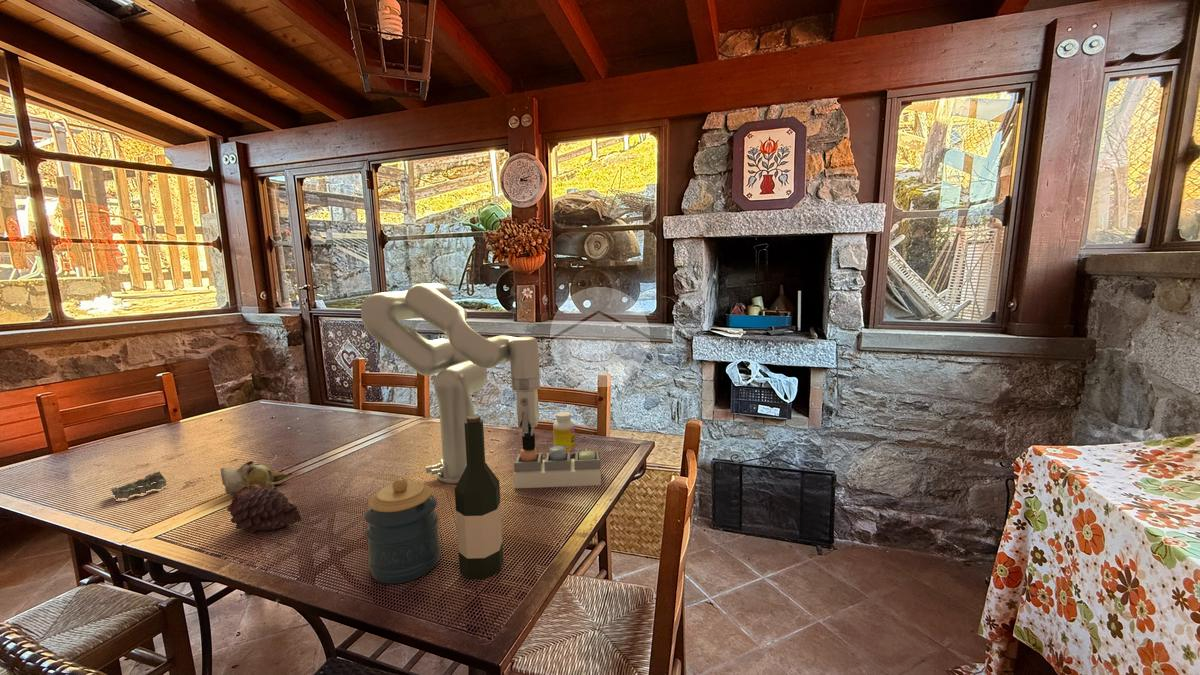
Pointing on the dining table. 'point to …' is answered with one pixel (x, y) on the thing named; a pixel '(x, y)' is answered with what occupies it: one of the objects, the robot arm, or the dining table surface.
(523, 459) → the terracotta button
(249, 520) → the pine cone
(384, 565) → the canister
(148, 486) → the tree bark piece
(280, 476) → the ceramic sculpture
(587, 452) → the sage button
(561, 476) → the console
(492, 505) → the wine bottle
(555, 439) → the supplement bottle
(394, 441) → the dining table surface
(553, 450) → the slate button
